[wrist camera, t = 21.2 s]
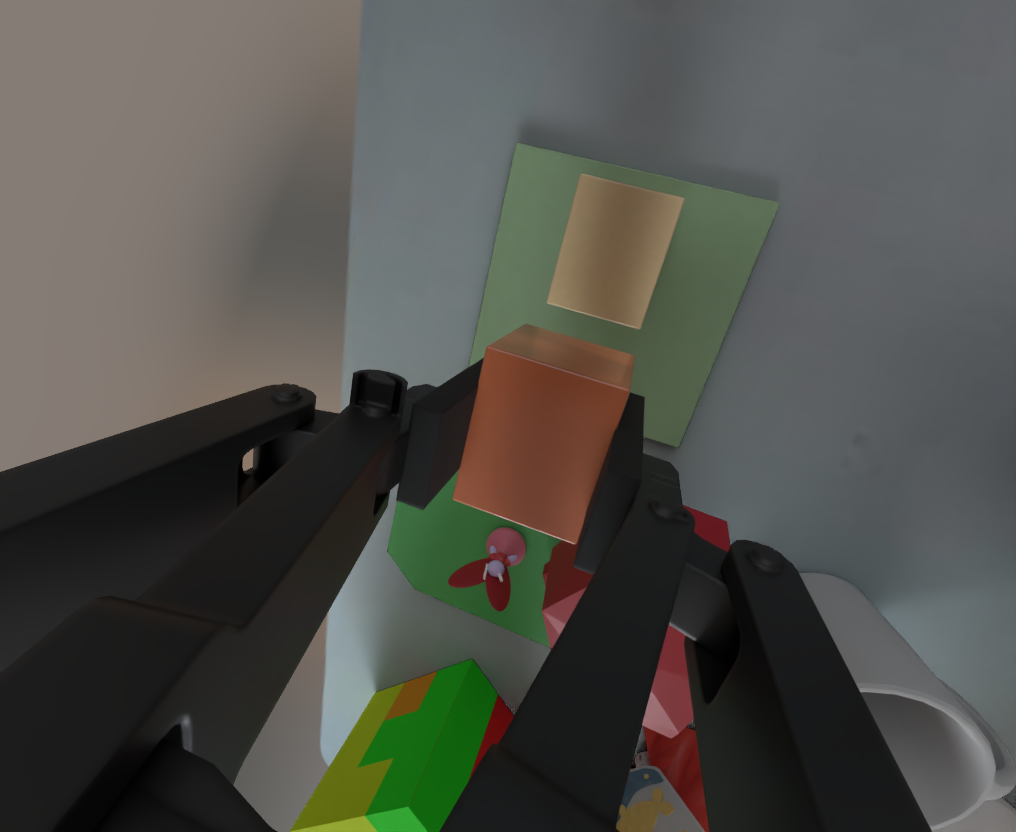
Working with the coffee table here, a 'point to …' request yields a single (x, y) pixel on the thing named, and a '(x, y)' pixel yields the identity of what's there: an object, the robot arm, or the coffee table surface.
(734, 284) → the mat
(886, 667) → the cup
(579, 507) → the terracotta piece
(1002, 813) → the candlestick
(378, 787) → the puzzle toy
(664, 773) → the figurine
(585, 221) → the birch piece
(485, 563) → the low-poly diorama
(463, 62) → the coffee table surface
